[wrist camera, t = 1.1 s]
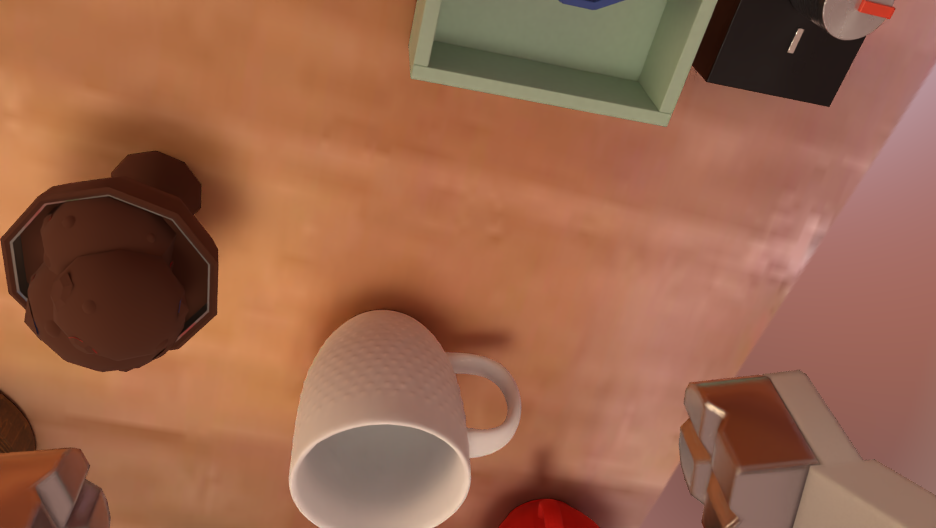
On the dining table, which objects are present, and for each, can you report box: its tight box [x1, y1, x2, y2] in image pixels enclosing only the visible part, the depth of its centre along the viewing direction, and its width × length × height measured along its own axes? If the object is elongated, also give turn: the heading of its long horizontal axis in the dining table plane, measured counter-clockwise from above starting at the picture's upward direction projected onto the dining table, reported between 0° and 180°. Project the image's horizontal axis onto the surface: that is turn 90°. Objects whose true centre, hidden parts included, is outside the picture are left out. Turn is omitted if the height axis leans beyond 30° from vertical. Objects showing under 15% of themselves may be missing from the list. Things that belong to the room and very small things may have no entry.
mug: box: [289, 310, 521, 528], centre depth 52 cm, size 15×11×13 cm
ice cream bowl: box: [0, 151, 218, 372], centre depth 43 cm, size 11×11×15 cm
